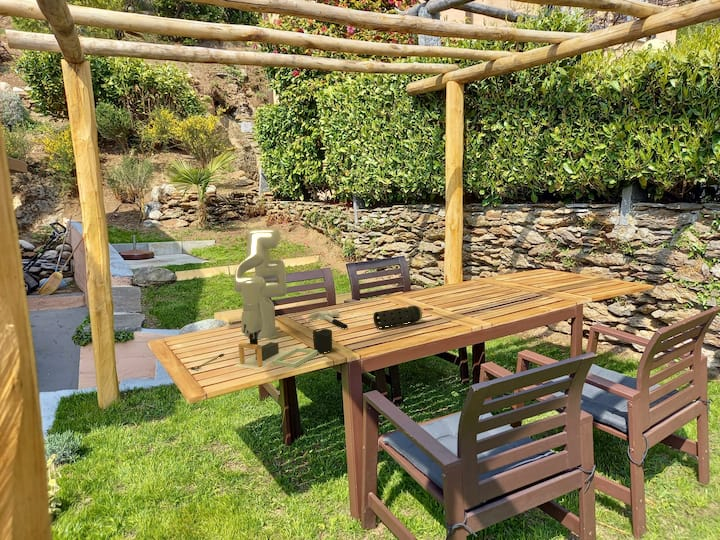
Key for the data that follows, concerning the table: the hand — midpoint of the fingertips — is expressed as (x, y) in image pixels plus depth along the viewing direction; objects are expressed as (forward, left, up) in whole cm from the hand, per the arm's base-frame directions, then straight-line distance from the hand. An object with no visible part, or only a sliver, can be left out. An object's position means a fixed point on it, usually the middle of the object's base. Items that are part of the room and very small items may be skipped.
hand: (254, 346), depth 214 cm
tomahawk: (+5, -21, -9) cm, 24 cm away
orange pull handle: (+3, 0, -8) cm, 8 cm away
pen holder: (-28, +20, -9) cm, 35 cm away
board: (-7, 0, -9) cm, 11 cm away
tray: (-12, +14, -9) cm, 20 cm away
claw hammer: (-73, -1, -9) cm, 74 cm away
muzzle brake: (-84, +38, -9) cm, 92 cm away
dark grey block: (-10, 0, -8) cm, 12 cm away
